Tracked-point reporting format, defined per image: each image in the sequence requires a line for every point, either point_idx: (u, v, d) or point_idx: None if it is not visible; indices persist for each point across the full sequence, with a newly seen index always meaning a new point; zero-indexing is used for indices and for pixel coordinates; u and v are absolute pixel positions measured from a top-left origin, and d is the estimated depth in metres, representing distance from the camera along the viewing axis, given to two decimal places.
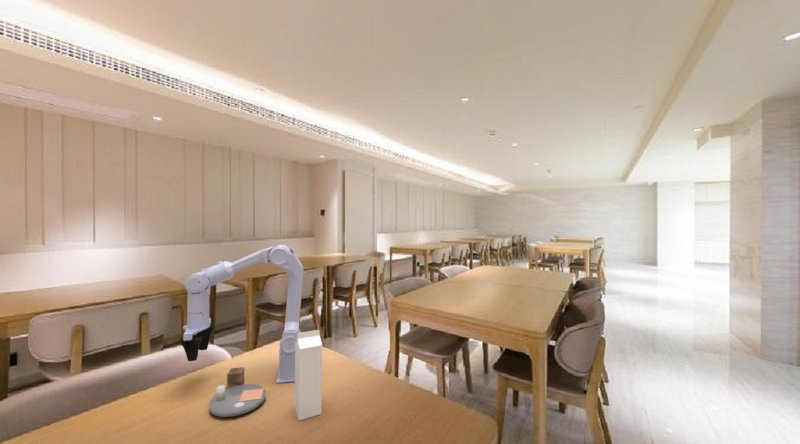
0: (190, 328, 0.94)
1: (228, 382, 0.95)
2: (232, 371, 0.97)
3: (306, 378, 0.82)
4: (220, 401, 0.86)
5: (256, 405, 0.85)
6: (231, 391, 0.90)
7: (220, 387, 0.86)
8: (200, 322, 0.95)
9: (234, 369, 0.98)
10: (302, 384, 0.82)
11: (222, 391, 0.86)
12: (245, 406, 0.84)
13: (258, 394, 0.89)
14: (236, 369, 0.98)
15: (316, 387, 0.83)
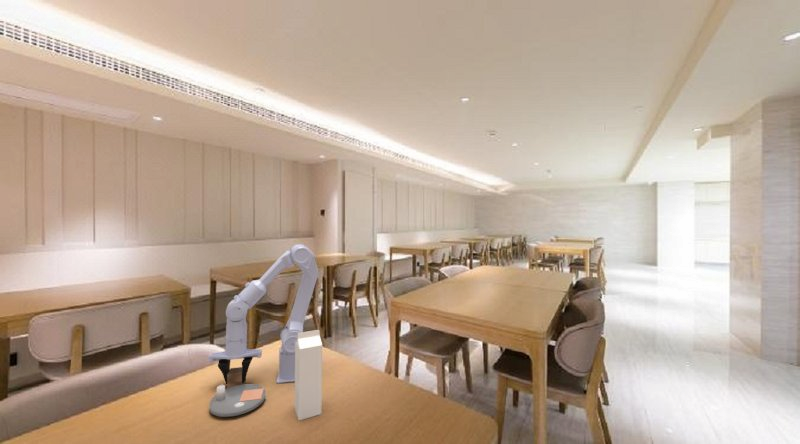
0: None
1: (228, 382, 0.95)
2: (232, 371, 0.97)
3: (306, 378, 0.82)
4: (220, 401, 0.86)
5: (256, 405, 0.85)
6: (231, 391, 0.90)
7: (220, 387, 0.86)
8: (226, 350, 0.95)
9: (234, 369, 0.98)
10: (302, 384, 0.82)
11: (222, 391, 0.86)
12: (245, 406, 0.84)
13: (258, 394, 0.89)
14: (236, 369, 0.98)
15: (316, 387, 0.83)
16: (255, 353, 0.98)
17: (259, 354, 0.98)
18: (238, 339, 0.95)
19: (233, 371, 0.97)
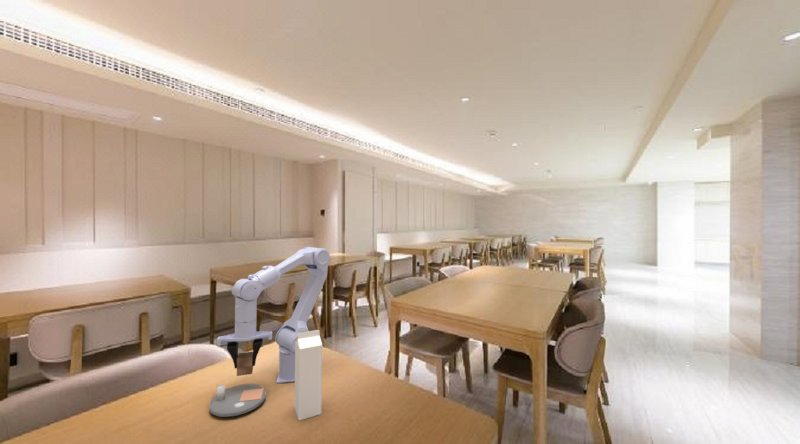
0: None
1: (238, 367, 0.90)
2: (241, 355, 0.92)
3: (306, 378, 0.82)
4: (220, 401, 0.86)
5: (256, 405, 0.85)
6: (231, 391, 0.90)
7: (220, 387, 0.86)
8: (236, 332, 0.90)
9: (243, 354, 0.93)
10: (302, 384, 0.82)
11: (222, 391, 0.86)
12: (245, 406, 0.84)
13: (258, 394, 0.89)
14: (245, 353, 0.93)
15: (316, 387, 0.83)
16: (266, 335, 0.93)
17: (270, 336, 0.94)
18: (252, 319, 0.91)
19: (242, 356, 0.92)
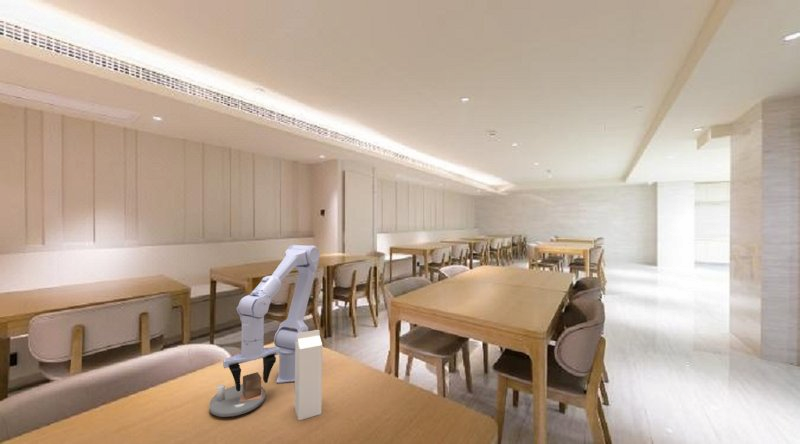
0: (241, 354, 0.88)
1: (247, 390, 0.86)
2: (248, 378, 0.88)
3: (306, 378, 0.82)
4: (220, 401, 0.86)
5: (256, 405, 0.85)
6: (231, 391, 0.90)
7: (220, 387, 0.86)
8: (244, 351, 0.86)
9: (248, 376, 0.89)
10: (302, 384, 0.82)
11: (222, 391, 0.86)
12: (245, 406, 0.84)
13: None
14: (251, 375, 0.90)
15: (316, 387, 0.83)
16: (274, 350, 0.92)
17: (278, 351, 0.92)
18: (262, 336, 0.88)
19: (250, 378, 0.88)
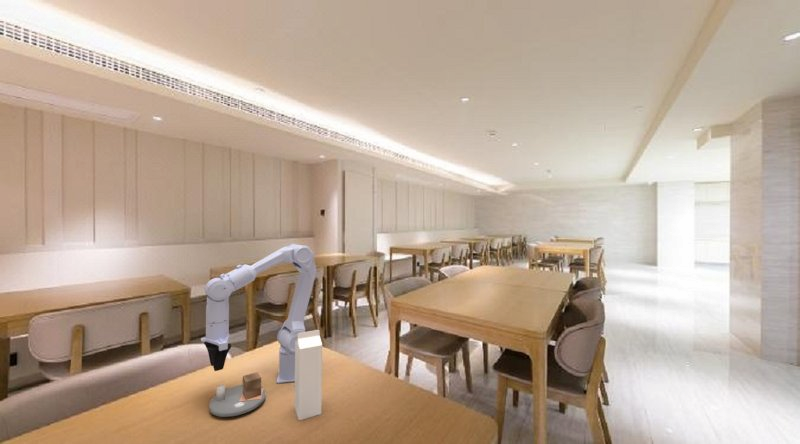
0: (215, 339, 0.87)
1: (247, 390, 0.86)
2: (248, 378, 0.88)
3: (306, 378, 0.82)
4: (220, 401, 0.86)
5: (256, 405, 0.85)
6: (231, 391, 0.90)
7: (220, 387, 0.86)
8: (225, 331, 0.89)
9: (248, 376, 0.89)
10: (302, 384, 0.82)
11: (222, 391, 0.86)
12: (245, 406, 0.84)
13: None
14: (251, 375, 0.90)
15: (316, 387, 0.83)
16: None
17: None
18: (222, 320, 0.88)
19: (250, 378, 0.88)
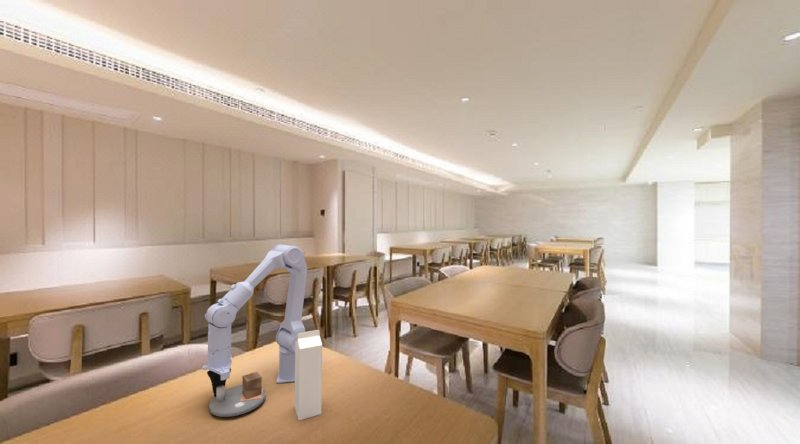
0: (217, 367, 0.85)
1: (248, 390, 0.87)
2: (249, 377, 0.88)
3: (306, 378, 0.82)
4: (220, 401, 0.85)
5: (257, 404, 0.86)
6: (230, 392, 0.90)
7: (220, 387, 0.86)
8: (227, 358, 0.87)
9: (248, 375, 0.89)
10: (302, 384, 0.82)
11: (222, 392, 0.86)
12: (247, 405, 0.84)
13: None
14: (251, 375, 0.90)
15: (316, 387, 0.83)
16: None
17: None
18: (226, 347, 0.86)
19: (250, 377, 0.88)
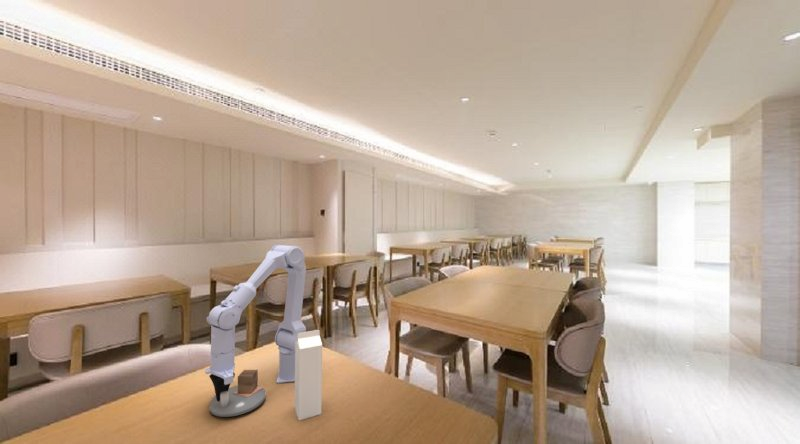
0: (220, 370, 0.82)
1: (252, 384, 0.90)
2: (247, 374, 0.90)
3: (306, 378, 0.82)
4: (228, 406, 0.84)
5: None
6: None
7: (225, 393, 0.84)
8: (231, 361, 0.84)
9: (243, 374, 0.91)
10: (302, 384, 0.82)
11: (228, 396, 0.84)
12: (260, 395, 0.89)
13: None
14: (245, 373, 0.91)
15: (316, 387, 0.83)
16: None
17: None
18: (230, 349, 0.84)
19: (248, 373, 0.91)
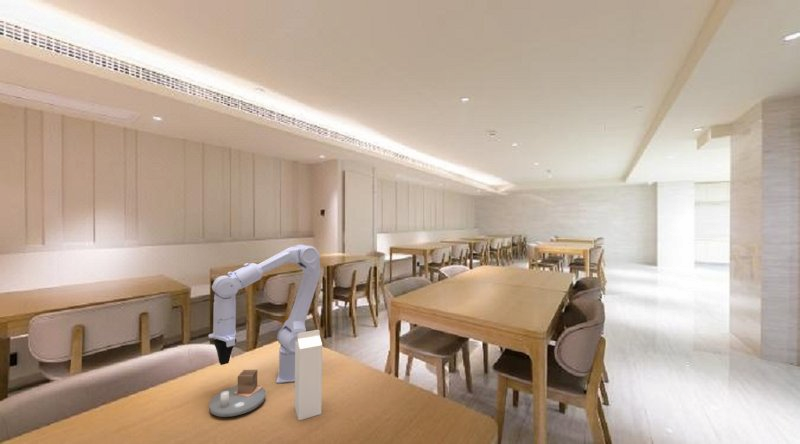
0: (222, 335, 0.89)
1: (252, 384, 0.90)
2: (247, 374, 0.90)
3: (306, 378, 0.82)
4: (228, 406, 0.84)
5: None
6: None
7: (226, 393, 0.84)
8: (232, 327, 0.91)
9: (243, 374, 0.91)
10: (302, 384, 0.82)
11: (228, 396, 0.84)
12: (260, 395, 0.89)
13: None
14: (244, 373, 0.91)
15: (316, 387, 0.83)
16: None
17: None
18: (229, 317, 0.90)
19: (248, 373, 0.91)
